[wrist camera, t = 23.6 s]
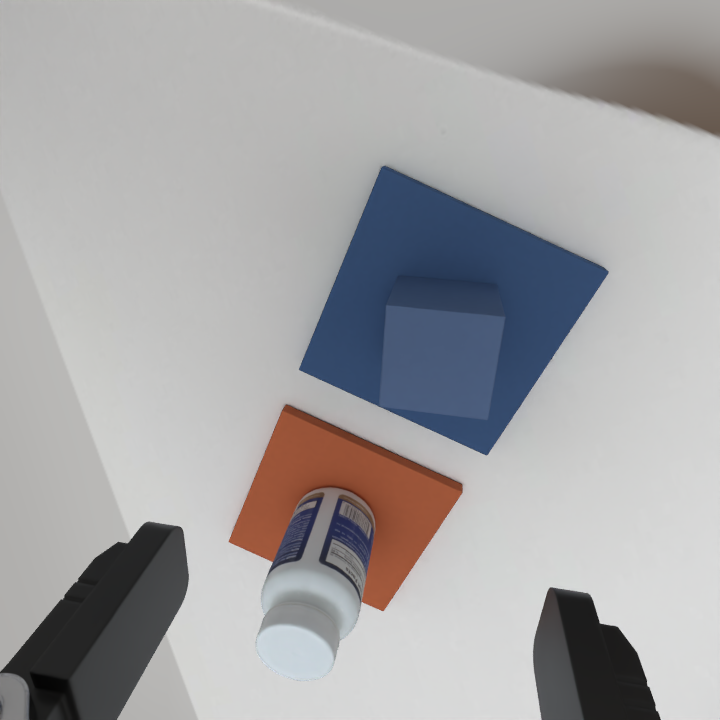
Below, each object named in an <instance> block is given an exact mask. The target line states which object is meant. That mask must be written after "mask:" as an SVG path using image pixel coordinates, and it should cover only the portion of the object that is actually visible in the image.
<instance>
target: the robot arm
mask: <svg viewBox="0 0 720 720" xmlns="http://www.w3.org/2000/svg"><path fill="white" fill-rule="evenodd" d="M188 580H189V574H188V566H187V557H186V549H185V541H184V533H183V530H182V528H181V527H179V526H173V525H167V524H160V523H154V522H146V523H144V524H143V525H142V526H141V527H140V529H139V530H138V531H137V533H136V534H135V535H134V536H133V538H132V539H131V540H130V542H129V543H128V544H127V543H121V542H117V543H116V544H115V545H113V546H112V547H110V548H109V549H107V550H106V551H105V552H103V553H102V554H100V555H99V556H97V557H96V558H95V559H94V560H93V561H92V563H91V564H90V565H89V566H88V568H87V569H86V570H85V571H84V572H83V574H82V575H81V576H80V577H79V578H78V582H77V583H76V582H75V583H74V584H73V586H72V587H71V588H70V589H69V590H68V592H67V593H66V594H65V597H64V599H63V600H60V601H59V603H58V604H57V605H56V606H55V607H54V609H53V610H52V611H51V612H50V613H49V615H48V616H47V617H46V618H45V619H44V621H43V622H42V623H41V624H40V625H39V627H38V628H37V629H36V630H35V632H34V633H33V634H32V635H31V636H30V638H29V639H28V640H27V641H26V642H25V644H24V645H23V646H22V647H21V649H20V650H19V651H18V652H17V653H16V655H15V656H14V657H13V658H12V659H11V661H10V662H9V663H8V664H7V665H6V666H5V668H4V669H3V670H2V671H1V672H0V720H117V718H118V716H119V715H120V713H121V711H122V709H123V708H124V706H125V704H126V702H127V700H128V699H129V697H130V695H131V693H132V691H133V690H134V688H135V686H136V685H137V683H138V681H139V679H140V677H141V676H142V674H143V672H144V670H145V669H146V667H147V665H148V663H149V662H150V660H151V658H152V656H153V654H154V653H155V651H156V649H157V647H158V646H159V644H160V642H161V640H162V638H163V636H164V635H165V633H166V631H167V630H168V628H169V626H170V624H171V623H172V621H173V619H174V617H175V615H176V614H177V612H178V610H179V608H180V607H181V605H182V603H183V600H184V598H185V595H186V591H187V587H188ZM533 663H534V673H535V679H536V686H537V692H538V699H539V705H540V712H541V718H542V720H661V719H660V716H659V713H658V711H656V709H655V706H656V705H655V702H654V699H653V696H652V694H651V691H650V688H649V687H648V686H647V679H646V677H645V674H644V671H643V668H642V665H641V663H640V660H639V657H638V654H637V652H636V651H635V649H634V648H633V647H632V645H631V644H630V643H629V641H628V640H627V639H626V637H625V636H624V635H623V633H622V632H621V631H620V629H619V628H618V627H616V626H610V625H605V624H600V623H599V619H598V616H597V613H596V609H595V606H594V603H593V600H592V598H591V596H590V595H589V594H588V593H583V592H576V591H570V590H564V589H558V588H549V590H548V592H547V595H546V599H545V602H544V606H543V610H542V613H541V617H540V620H539V624H538V627H537V631H536V635H535V639H534V648H533Z"/></svg>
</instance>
